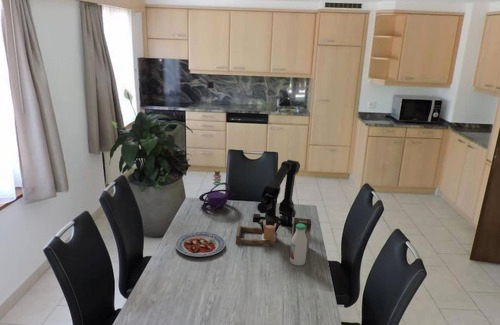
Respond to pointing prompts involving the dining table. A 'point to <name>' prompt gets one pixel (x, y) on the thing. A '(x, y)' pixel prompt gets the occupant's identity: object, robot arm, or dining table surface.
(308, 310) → the dining table surface
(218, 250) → the ceramic plate
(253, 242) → the bay
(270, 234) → the block
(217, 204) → the decorative bottle
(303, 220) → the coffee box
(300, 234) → the milk bottle
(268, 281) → the dining table surface
